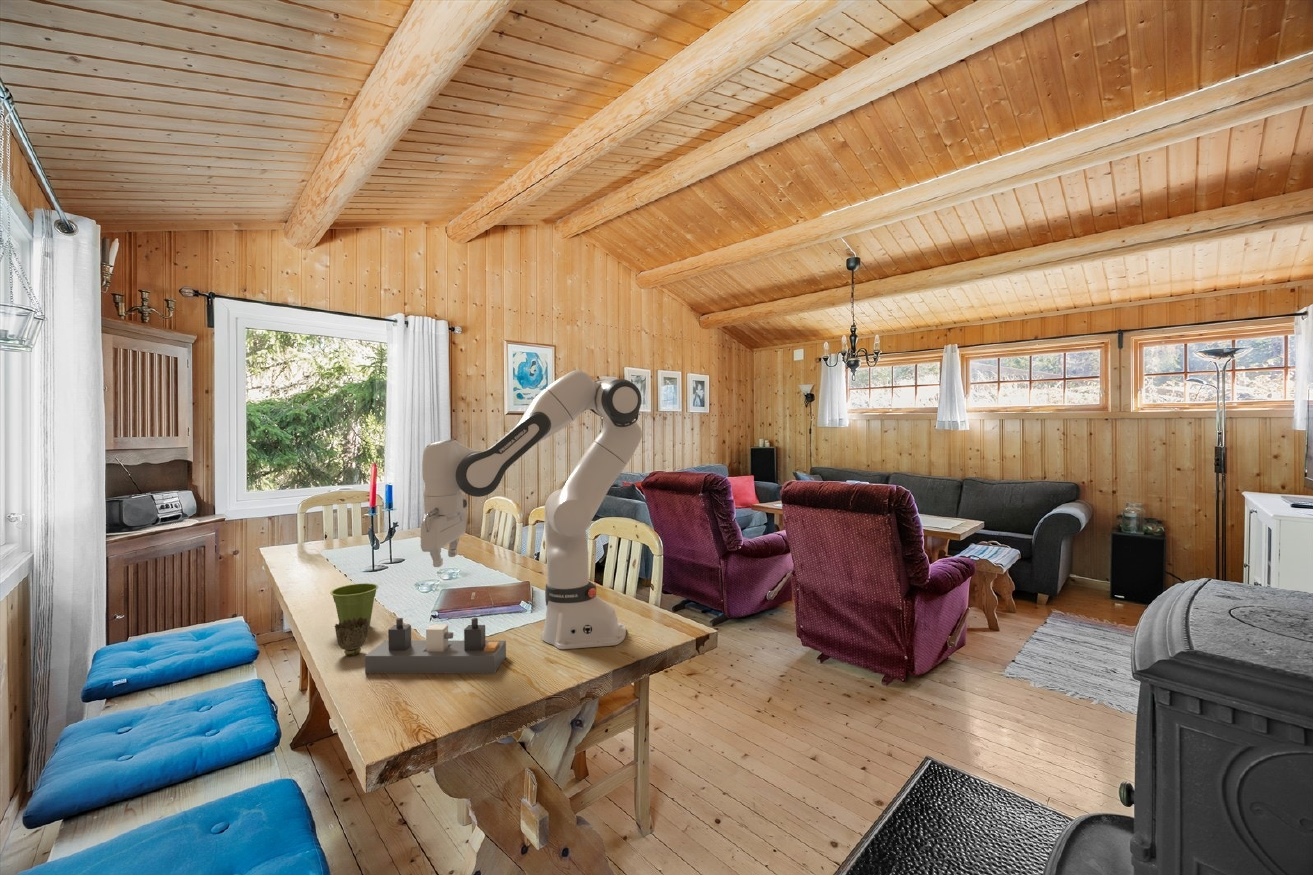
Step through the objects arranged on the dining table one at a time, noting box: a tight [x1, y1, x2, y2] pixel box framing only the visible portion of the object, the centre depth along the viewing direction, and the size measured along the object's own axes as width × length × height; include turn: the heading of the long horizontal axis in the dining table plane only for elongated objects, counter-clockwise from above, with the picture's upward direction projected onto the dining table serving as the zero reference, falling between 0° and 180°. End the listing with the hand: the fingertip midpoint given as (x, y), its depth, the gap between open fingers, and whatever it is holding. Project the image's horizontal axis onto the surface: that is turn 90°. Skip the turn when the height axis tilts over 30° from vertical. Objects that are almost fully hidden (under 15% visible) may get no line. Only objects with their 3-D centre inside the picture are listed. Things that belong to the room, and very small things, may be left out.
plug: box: [425, 624, 454, 652], centre depth 131 cm, size 6×3×8 cm, turn 88°
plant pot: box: [330, 582, 379, 628], centre depth 155 cm, size 12×12×11 cm
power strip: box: [364, 617, 507, 674], centre depth 131 cm, size 30×9×11 cm, turn 89°
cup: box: [334, 617, 369, 657], centre depth 138 cm, size 8×7×8 cm
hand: (445, 561), depth 137 cm, fingers open, 8 cm apart
